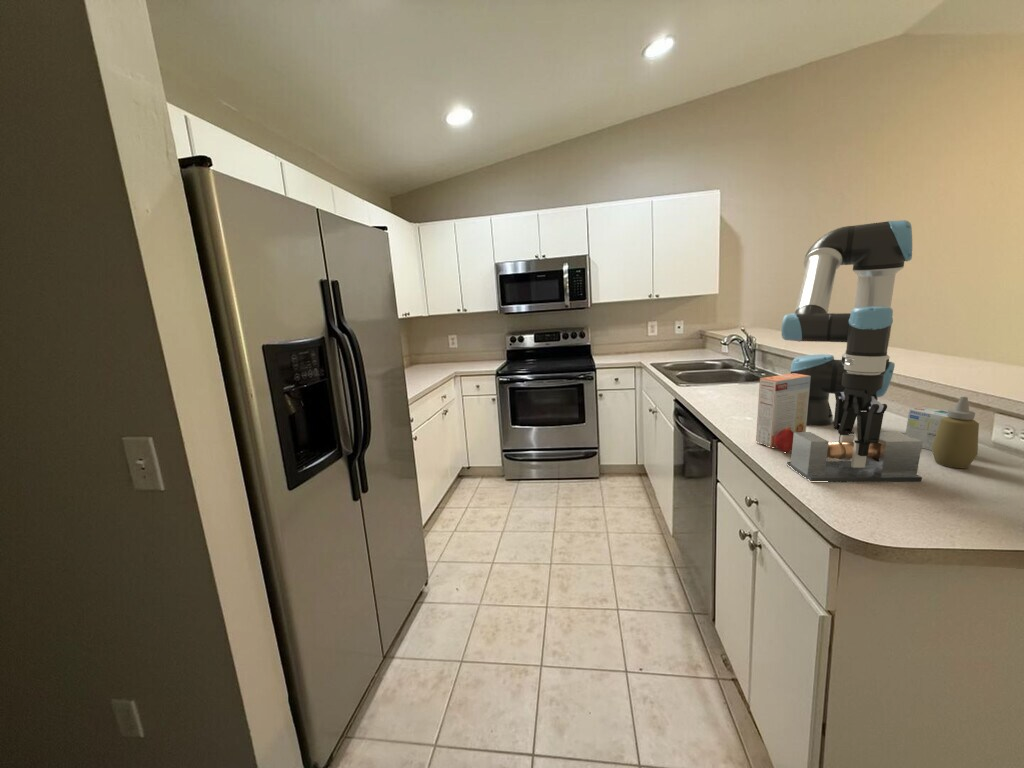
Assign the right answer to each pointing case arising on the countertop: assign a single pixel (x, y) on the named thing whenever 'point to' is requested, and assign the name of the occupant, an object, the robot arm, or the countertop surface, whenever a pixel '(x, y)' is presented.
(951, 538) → the countertop surface
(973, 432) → the squeeze bottle
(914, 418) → the light bulb box
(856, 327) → the robot arm
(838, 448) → the copper tube
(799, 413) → the cracker box
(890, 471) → the jig
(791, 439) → the red round fruit
